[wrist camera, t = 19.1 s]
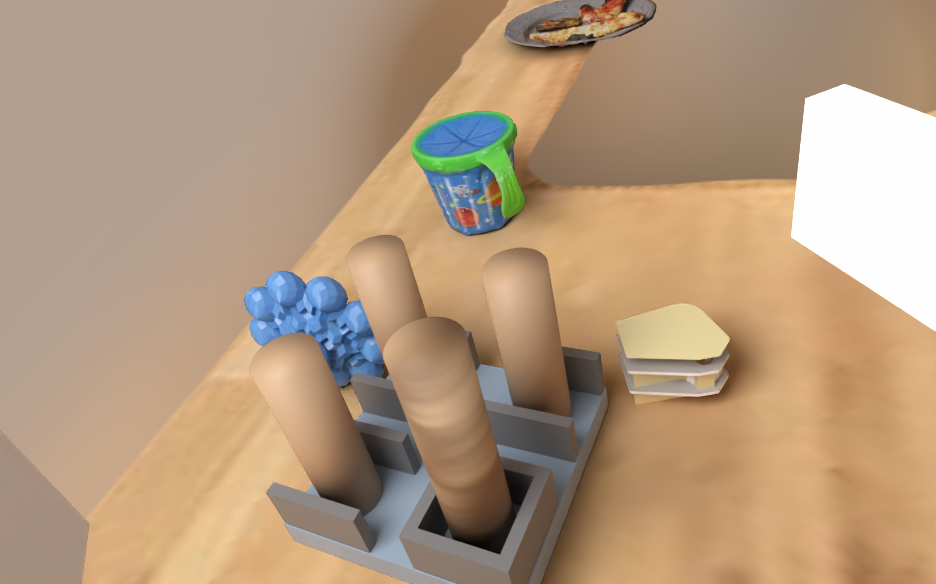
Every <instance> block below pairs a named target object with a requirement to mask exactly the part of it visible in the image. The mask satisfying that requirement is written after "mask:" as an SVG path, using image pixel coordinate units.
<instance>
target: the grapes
mask: <svg viewBox="0 0 936 584" xmlns="http://www.w3.org/2000/svg"><path fill="white" fill-rule="evenodd" d="M347 300H348V297H347V294H346V290H345V289H344V288H343V287H342V285H341V284H340V283H339V282H337V281H336V280H334V279H332V278H329V277H325V276H323V277H316V278H314V279H312V280H311V281H309V282H308V283H307V286H306V284H305V283H304V282H303V280H302V279H301V278H300V277H298V276H297V275H295V274H294V273H291V272H287V271H280V272H275V273H274V274H272V275H271V276H269V277H268V279H267V282H266V287H255V288H252V289H251V290H250V291H248V292H247V293H246V295H245V298H244V303H245V306H246V309H247V311H248V312H249V313H250V314H251V316H253V317H254V319H253V320H251V323H250V327H249V329H250V332H251V336H252V337H253V338H254V340H255V341H256V342H257V343H258V344H259V345H261V346H264V345H265V344H267V343H268V342H270V341H272V340H274V339H275V338H278V337H280V336H283V335H287V334H291V333H305V334H309V335H311V336H313V337H314V338H315V339H316V340H317V342H318V344H319V346H320V348H321V351H322V353H323V355H324V357H325V359H326V361H327V364H328V366H329V368H330V370H331V372H332V374H333V377H334V379H335V381H336V383H337V385H338V387H341V386H345V385H347V384H348V383H349V382H350V379H351V378H352V377H353V375H354V374H355V373H360V374H365V375H369V376H374V377H379V378H382V377H383V374H384V367H383V364H385V362H384V360H383V357H382V355H381V352H380V350H379V347H378V344H377V342H376V339H375V337H374V334H373V332H372V329H371V326H370V324H369V321H368V319H367V316H366V314H365V311H364V308H363V306H362V303H361V301H353V302H350V303H348V304H347ZM346 304H347V305H346Z"/></svg>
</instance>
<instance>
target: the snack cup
mask: <svg viewBox="0 0 936 584" xmlns="http://www.w3.org/2000/svg"><path fill="white" fill-rule="evenodd" d="M516 136H517V128H516V124H514V123H513V121H512V119H511V118H510V117H509V116H507V115H505V114H502V113H499V112H493V111H475V112H467V113H462V114H457V115H454V116H451V117H447V118H445V119H442V120H440V121H438V122H436V123H434V124H432V125H430V126H428V127H427V128H425V129H424V130H422V131H421V132H420V133H419V134H418V135H417V136H416V137H415V139H414V141H413V144H412V147H411V152H412V155H413V157H414V158H415V160H416V162H417V163H418V164H419V165H420V167H421V168H422V169H423V170H424V173H425V175H426V177H427V179H428V181H429V184H430V187H431V189H432V191H433V193H434V195H435V197H436V199H437V201H438V204H439V206H440V208H441V210H442V212H443V215H444V216H445V218H446V220H447V222H448V224H449V225H450V226H451V228H453V229H455V230H456V231H459V232H462V233H463V234H466V235H471V234H479V233H485V232H489V231H492V230H494V229H500V228H501V227H502V226H503V225H504V224H505V223H506V222H507V221H508V220H509V219H510V218H511V217H512V216H514V215H515V214H517V213H519V212H520V211H521V210H522V209H523V207H524V205H525V197H524V194H523V192H522V190H521V187H520V185H519V183H518V180H517V178H516V175H515V169H514V152H513V147H514V143H515V138H516Z"/></svg>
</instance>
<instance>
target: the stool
mask: <svg viewBox="0 0 936 584" xmlns="http://www.w3.org/2000/svg"><path fill="white" fill-rule="evenodd" d="M345 262H346V265H347V267H348V270H349V273H350V275H351V278H352V280H353V283H354V285H355V288H356V290H357V293H358V296H359V298H360V301H361V303H362V306H363V308H364V311H365V314H366V316H367V319H368V321H369V324H370V326H371V329H372V332H373V334H374V337H375V339H376V342H377V344H378V347H379V350H380V352H381V355H382V357H383V351H384V347H385V345H386V343H387V341H388V340H389V338H390V337H391V336H392V335H393V334H394V333H395V332H396V331H397V330H398V329H400V328H401V327H403V326H405V325H406V324H408V323H411V322H413V321H416V320H419V319H423V318H427V315H426V312H425V308H424V305H423V302H422V299H421V296H420V293H419V290H418V286H417V283H416V280H415V277H414V274H413V271H412V268H411V264H410V261H409V258H408V255H407V252H406V249H405V246H404V243H403V241H402V240H401V239H400V238H398V237H396V236H392V235H379V236H374V237H371V238H368V239H365V240H363V241H361V242H359V243H358V244H356V245H355V246H354V247H352V248H351V249H350V250H349V252H348V253H347V255H346V258H345ZM481 276H482V281H483V285H484V289H485V293H486V297H487V301H488V305H489V310H490V314H491V318H492V322H493V326H494V330H495V334H496V338H497V343H498V347H499V351H500V355H501V359H502V363H503V367H504V368H500V367H494V366H489V365H483V364H479V360H478V356H477V353H476V349H475V345H474V342H473V338H472V334H471V332H468V331H465V333H466V336H467V340H468V343H469V347H470V351H471V354H472V358H473V362H474V365H475V369H476V373H477V376H478V380H479V383H480V387H481V391H482V394H483V398H484V402H485V405H486V409H487V413H488V416H489V420H490V423H491V427H492V431H493V434H494V438H495V442H496V445H497V449H498V452H499V456H500V460H501V463H502V467H503V471H504V474H505V478H506V482H507V485H508V489H509V492H510V496H511V500H512V503H513V507H514V511H515V514H516V519H515V522H514V524H513V526H512V528H511V531H510V533H509V535H508V538H507V540H506V542H505V545H504V547H503V549H502V551H501V554H500V555H499V554H496V553H493V552H490V551H487V550H484V549H481V548H477V547H474V546H471V545H468V544H465V543H462V542H459V541H456V540H453V538H452V535H451V533H450V530H449V527H448V525H447V522H446V520H445V517H444V514H443V512H442V509H441V507H440V504H439V501H438V499H437V496H436V494H435V491H434V489H433V486H432V483H431V481H430V478H429V476H428V473H427V470H426V468H425V465H424V463H423V460H422V457H421V455H420V452H419V450H418V447H417V444H416V442H415V439H414V437H413V434H412V432H411V429H410V426H409V424H408V421H407V419H406V416H405V413H404V411H403V408H402V406H401V403H400V400H399V398H398V395H397V393H396V390H395V387H394V385H393V382H392V380H391V377H390V375H388V377H387V378H386V379H384V378H379V377H374V376H369V375H365V374H360V373H355V374H354V375H353V377H352V378H351V379H350V382H351V384H352V386H353V389H354V391H355V393H356V395H357V398H358V400H359V402H360V404H361V407H362V409H363V412H362V414H361V415H360V417H359V418H358V420H357V421H356V420H353V418H352V416H351V413H350V411H349V409H348V407H347V405H346V403H345V400H344V398H343V396H342V394H341V392H340V390H339V387H338V385H337V383H336V381H335V379H334V377H333V374H332V372H331V370H330V368H329V366H328V364H327V361H326V359H325V357H324V355H323V353H322V351H321V348H320V346H319V344H318V342H317V340H316V339H315V338H314V337H313V336H311V335H309V334H305V333H291V334H287V335H283V336H280V337H278V338H275V339H274V340H272V341H270V342H268V343H267V344H265V345H264V346H263V347H262V348H260V349H259V350H258V351H257V353H256V354H255V355H254V357H253V358H252V360H251V363H250V367H249V370H250V374H251V376H252V378H253V380H254V381H255V383H256V385H257V387H258V388H259V390H260V392H261V394H262V395H263V397H264V399H265V401H266V402H267V404H268V406H269V408H270V410H271V411H272V413H273V415H274V417H275V418H276V420H277V422H278V424H279V425H280V427H281V429H282V431H283V432H284V434H285V436H286V438H287V440H288V441H289V443H290V445H291V447H292V448H293V450H294V452H295V454H296V455H297V457H298V459H299V461H300V462H301V464H302V466H303V468H304V470H305V471H306V473H307V475H308V477H309V478H310V480H311V482H312V485H311V487H310V488H309V490H308V491H307V493H306V492H302V491H299V490H296V489H293V488H290V487H287V486H284V485H281V484H277V483H274V482H273V484H272V485H271V486H270V488H269V489H268V490H267V492H266V493H267V495H268V496H269V498H270V500H271V501H272V503H273V504H274V506H275V507H276V509H277V510H278V512H279V513H280V515H281V517H282V518H283V520H284V521H285V524H284V525H285V527H286V528H287V530H288V531H289V533H290V535H291V536H292V538H293V539H294V541H296V542H298V543H301V544H304V545H307V546H309V547H312V548H315V549H318V550H320V551H323V552H326V553H329V554H331V555H334V556H337V557H340V558H342V559H345V560H348V561H350V562H353V563H356V564H359V565H361V566H364V567H367V568H370V569H372V570H375V571H378V572H381V573H383V574H386V575H389V576H392V577H394V578H397V579H400V580H403V581H405V582H408V583H411V584H541V582H542V579H543V577H544V574H545V571H546V569H547V566H548V563H549V561H550V558H551V555H552V553H553V550H554V548H555V545H556V542H557V540H558V537H559V534H560V532H561V529H562V526H563V524H564V521H565V519H566V516H567V513H568V511H569V508H570V505H571V503H572V500H573V497H574V495H575V492H576V490H577V487H578V484H579V482H580V479H581V476H582V474H583V471H584V468H585V466H586V463H587V461H588V458H589V455H590V453H591V450H592V447H593V445H594V442H595V439H596V437H597V434H598V432H599V429H600V426H601V424H602V421H603V418H604V416H605V413H606V410H607V408H608V399H607V390H606V387H604V380H603V372H602V363H601V355H600V353H598V352H592V351H586V350H580V349H574V348H567V347H562V346H561V340H560V334H559V328H558V321H557V315H556V309H555V303H554V297H553V291H552V285H551V279H550V273H549V267H548V261H547V259H546V257H545V256H544V255H543V254H542V253H541V252H539V251H537V250H534V249H529V248H514V249H509V250H505V251H502V252H500V253H497V254H495V255H494V256H492V257H491V258H489V259H488V260H487V261H486V262H485V264H484V265H483V267H482V269H481ZM383 360H384V358H383ZM385 365H386V364H385ZM387 370H388V369H387ZM388 373H389V372H388Z"/></svg>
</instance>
